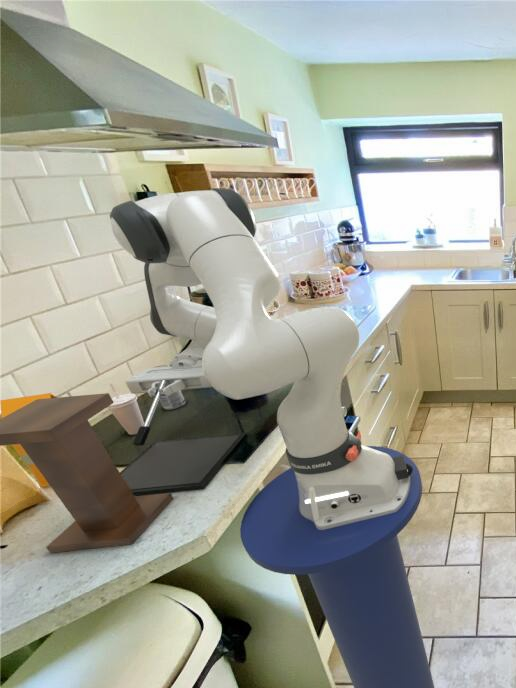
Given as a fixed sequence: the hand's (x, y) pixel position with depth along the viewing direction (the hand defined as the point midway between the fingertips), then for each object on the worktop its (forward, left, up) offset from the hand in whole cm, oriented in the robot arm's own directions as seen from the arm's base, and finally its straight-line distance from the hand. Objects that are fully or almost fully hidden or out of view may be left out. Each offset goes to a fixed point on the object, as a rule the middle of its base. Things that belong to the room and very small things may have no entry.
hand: (157, 393), depth 94 cm
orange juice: (+22, +4, -16) cm, 28 cm away
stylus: (0, +3, -3) cm, 4 cm away
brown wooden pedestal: (0, +23, -16) cm, 28 cm away
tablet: (-1, +5, -16) cm, 17 cm away
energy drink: (+18, -26, -16) cm, 35 cm away
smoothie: (+20, -13, -16) cm, 29 cm away
